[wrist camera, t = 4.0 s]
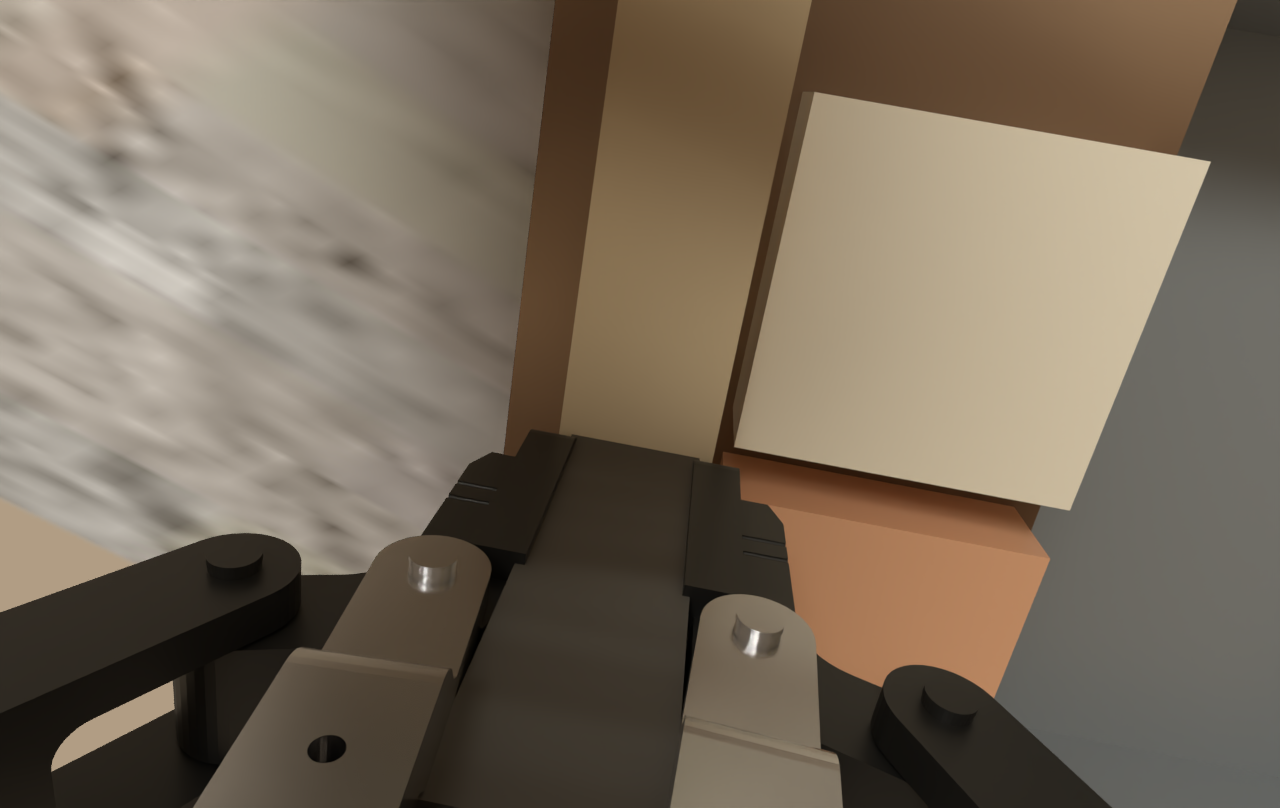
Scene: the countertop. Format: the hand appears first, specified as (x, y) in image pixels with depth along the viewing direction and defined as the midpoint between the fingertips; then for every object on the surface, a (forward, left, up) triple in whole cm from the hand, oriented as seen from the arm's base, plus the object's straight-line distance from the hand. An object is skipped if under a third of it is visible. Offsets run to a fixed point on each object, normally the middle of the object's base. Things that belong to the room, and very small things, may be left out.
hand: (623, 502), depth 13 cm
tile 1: (+4, +5, -4) cm, 7 cm away
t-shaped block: (0, 0, -3) cm, 3 cm away
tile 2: (-3, +5, -4) cm, 7 cm away
